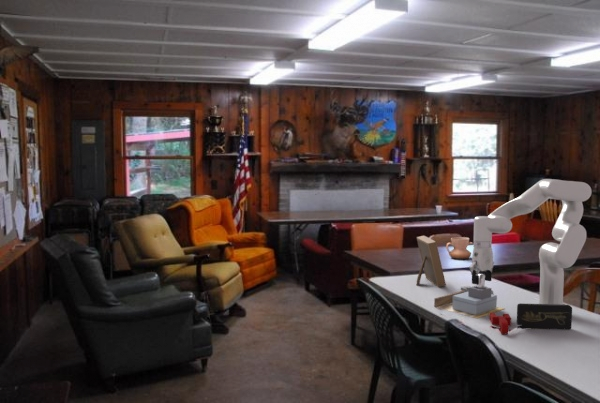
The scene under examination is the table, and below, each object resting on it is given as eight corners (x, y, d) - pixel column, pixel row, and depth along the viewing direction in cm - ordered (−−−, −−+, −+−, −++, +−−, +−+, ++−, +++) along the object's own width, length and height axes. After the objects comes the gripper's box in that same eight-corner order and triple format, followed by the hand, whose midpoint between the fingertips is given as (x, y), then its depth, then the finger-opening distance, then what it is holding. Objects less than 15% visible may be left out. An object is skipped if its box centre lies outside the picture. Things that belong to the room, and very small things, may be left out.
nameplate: (569, 328, 214) (570, 304, 213) (571, 330, 212) (572, 305, 211) (516, 327, 216) (517, 303, 215) (517, 328, 214) (518, 304, 213)
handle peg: (485, 296, 233) (486, 274, 232) (481, 297, 231) (482, 275, 230) (479, 295, 235) (480, 273, 234) (475, 296, 234) (476, 274, 233)
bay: (504, 312, 236) (504, 300, 236) (476, 321, 223) (476, 309, 222) (462, 301, 254) (462, 290, 253) (434, 310, 240) (434, 298, 239)
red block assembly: (489, 322, 222) (489, 311, 222) (506, 323, 221) (507, 312, 220) (495, 335, 206) (495, 323, 206) (514, 336, 205) (515, 324, 205)
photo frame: (433, 277, 304) (433, 235, 302) (446, 286, 283) (446, 241, 280) (408, 278, 303) (408, 235, 301) (419, 287, 282) (419, 242, 279)
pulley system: (488, 291, 276) (459, 289, 279) (489, 283, 276) (460, 280, 278) (498, 308, 249) (466, 305, 252) (499, 298, 249) (467, 295, 251)
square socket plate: (496, 308, 236) (497, 286, 235) (475, 315, 226) (476, 292, 225) (473, 302, 246) (473, 281, 245) (452, 308, 236) (452, 287, 235)
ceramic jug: (469, 256, 370) (469, 236, 369) (475, 260, 355) (475, 239, 354) (443, 256, 371) (443, 236, 370) (448, 260, 357) (448, 239, 356)
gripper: (478, 247, 223) (477, 287, 224) (501, 243, 233) (500, 281, 235) (463, 245, 229) (462, 283, 230) (485, 241, 239) (485, 278, 241)
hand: (481, 282), depth 232 cm, fingers open, 9 cm apart
